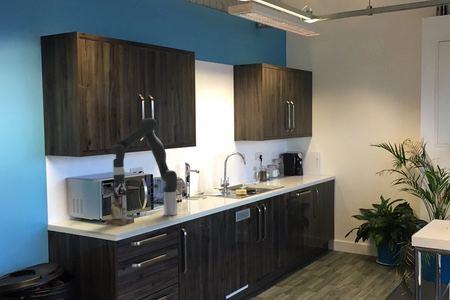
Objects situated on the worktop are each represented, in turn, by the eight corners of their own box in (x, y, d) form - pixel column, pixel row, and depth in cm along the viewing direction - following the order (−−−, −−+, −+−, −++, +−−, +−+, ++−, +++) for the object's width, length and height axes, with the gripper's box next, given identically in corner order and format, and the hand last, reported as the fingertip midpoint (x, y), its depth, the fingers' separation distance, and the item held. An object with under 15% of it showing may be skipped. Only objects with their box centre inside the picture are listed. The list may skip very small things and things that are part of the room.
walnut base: (118, 221, 347) (118, 216, 347) (134, 223, 340) (134, 217, 340) (106, 225, 337) (106, 219, 337) (122, 226, 330) (122, 220, 330)
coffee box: (127, 218, 339) (127, 194, 339) (122, 219, 333) (122, 195, 333) (115, 217, 342) (115, 194, 342) (110, 218, 335) (110, 195, 336)
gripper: (122, 172, 345) (123, 195, 346) (107, 174, 333) (108, 198, 334) (130, 172, 341) (131, 195, 342) (115, 174, 329) (116, 198, 330)
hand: (119, 197), depth 338 cm, fingers open, 8 cm apart
